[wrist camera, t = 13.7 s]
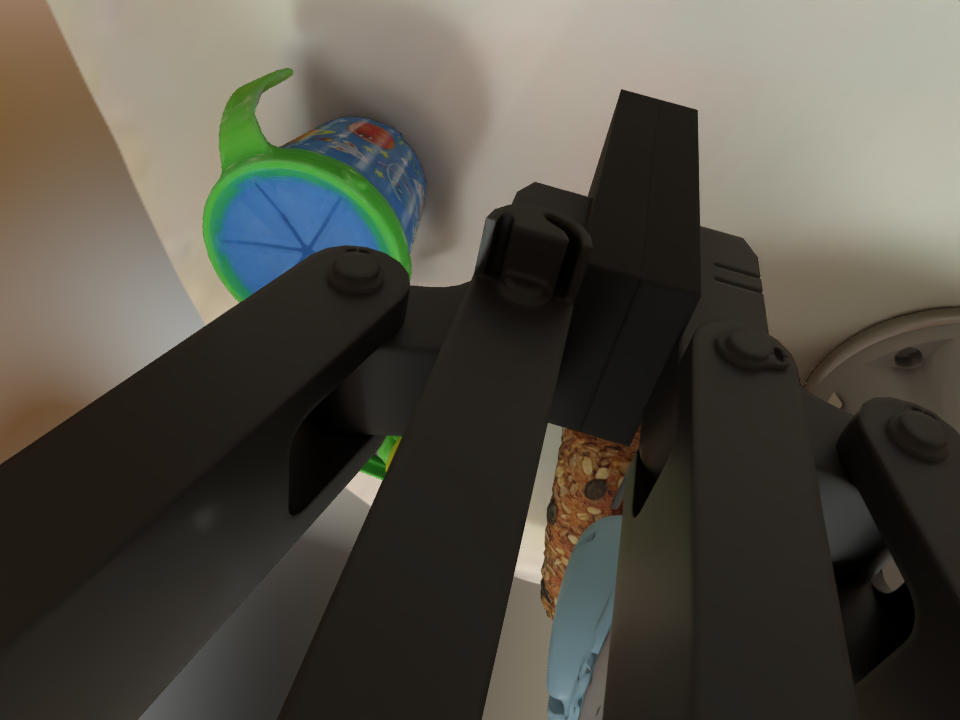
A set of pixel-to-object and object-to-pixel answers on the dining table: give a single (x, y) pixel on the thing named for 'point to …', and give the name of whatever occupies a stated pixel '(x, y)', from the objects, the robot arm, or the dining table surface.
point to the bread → (580, 500)
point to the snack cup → (306, 193)
